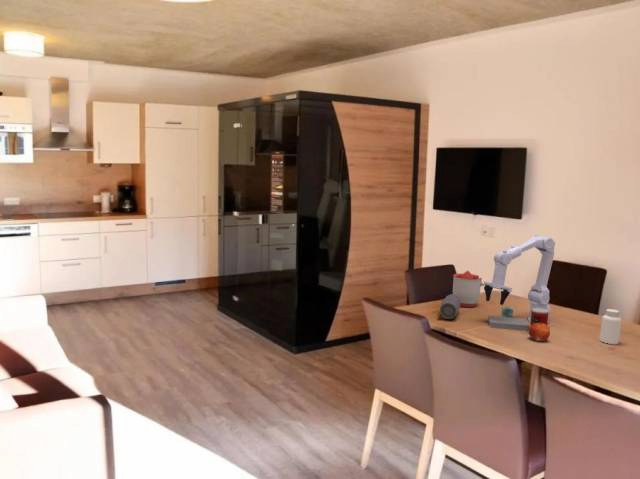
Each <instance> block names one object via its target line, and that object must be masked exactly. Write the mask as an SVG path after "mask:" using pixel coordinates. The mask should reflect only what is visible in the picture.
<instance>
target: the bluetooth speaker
mask: <svg viewBox="0 0 640 479" xmlns="http://www.w3.org/2000/svg"><path fill="white" fill-rule="evenodd" d="M460 303H461V302H460V299H459V297H458V296H457V295H455V294H453V293H451V294H448V295H446V297H445V298H444V299H443V301H442V302H441V304H440V307H439V314H440V315H441V316H442V317H443V318H444V319H448V320H451V319H453V318H455V317H456V316H457V314H458V313H459V311H460Z"/></svg>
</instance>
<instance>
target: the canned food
mask: <svg viewBox="0 0 640 479" xmlns="http://www.w3.org/2000/svg"><path fill="white" fill-rule="evenodd" d="M548 314H549V311H548V310H546V309H541V308H533V309H532V311H531V322H530V321H529V322H530V323H529V327H530V326H531V325H532V324H534V323H544V324H546V325H547V326H549V325H548V324H549V323H548Z"/></svg>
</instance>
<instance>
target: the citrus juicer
mask: <svg viewBox="0 0 640 479" xmlns="http://www.w3.org/2000/svg"><path fill="white" fill-rule="evenodd" d="M482 279H483V278H482V277H480V276H479V275H477V274H472V273H471V272H470V271H469V270H466V271H464V273H454V274H453V282H452V294H455V295H457V296H458V297H459V299H460V302H461V303H460V307H462V308H475V307H476V306H477V304H479V299H480V295H481V287H485V286H484V285H483V284H484V282H482Z"/></svg>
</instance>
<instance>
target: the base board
mask: <svg viewBox="0 0 640 479" xmlns="http://www.w3.org/2000/svg"><path fill="white" fill-rule="evenodd" d="M487 322H488V326H489V328H495V329H497V328H498V329H508V330H515V331H516V330H518V331H519V330H520V331H528V332H529V327H530V323H528V321H527V319H526V318H519V317H513V318H510V317H501V316H499V315H496V316H494V315H488V318H487Z"/></svg>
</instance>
